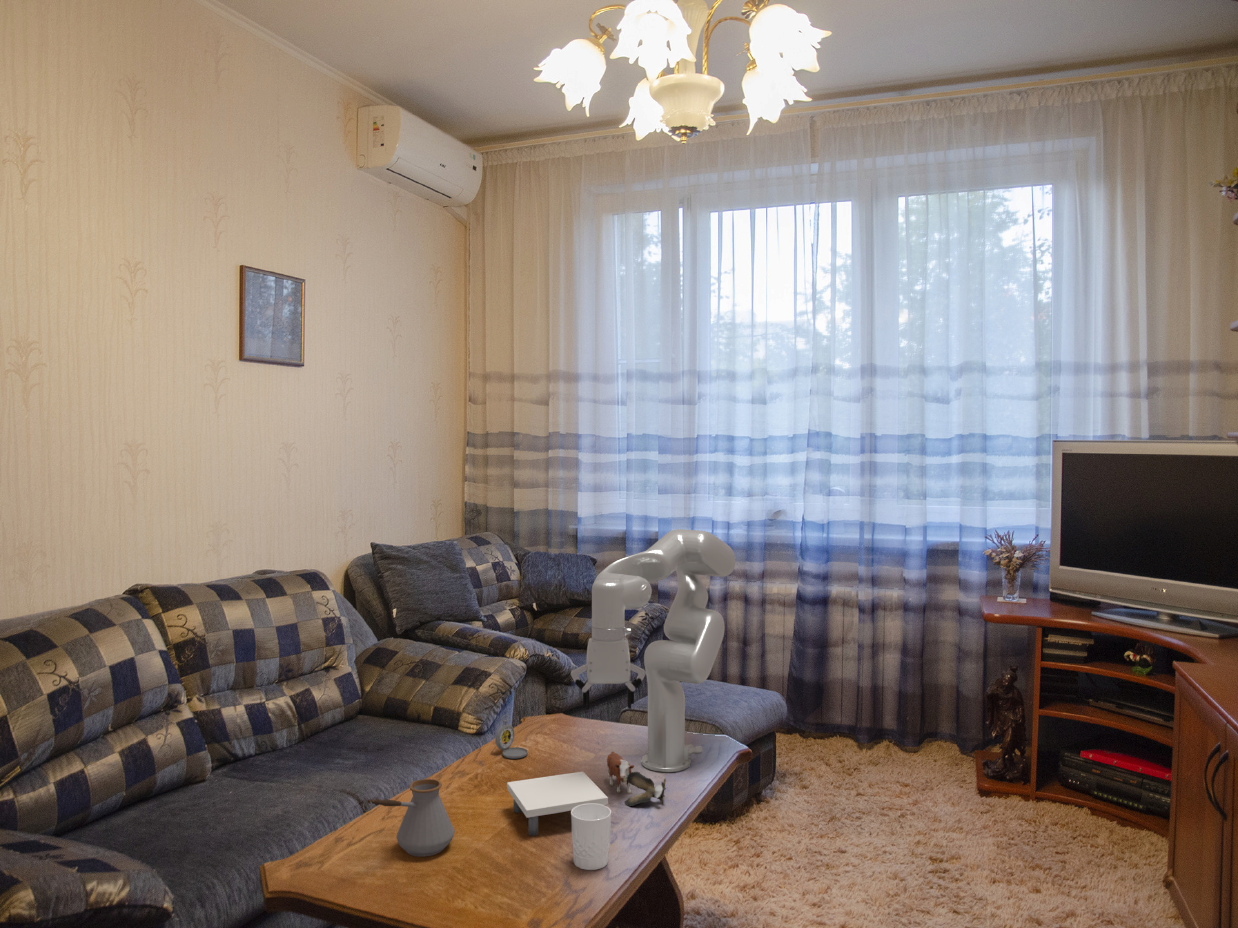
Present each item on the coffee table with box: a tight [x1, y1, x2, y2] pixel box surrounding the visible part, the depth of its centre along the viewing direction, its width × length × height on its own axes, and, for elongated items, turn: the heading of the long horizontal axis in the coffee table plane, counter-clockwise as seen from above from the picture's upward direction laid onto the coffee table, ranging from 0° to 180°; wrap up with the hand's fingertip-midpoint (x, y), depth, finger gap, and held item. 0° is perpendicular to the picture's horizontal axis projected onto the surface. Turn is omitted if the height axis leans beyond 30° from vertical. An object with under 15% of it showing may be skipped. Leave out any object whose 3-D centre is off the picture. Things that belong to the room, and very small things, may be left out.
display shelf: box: [506, 771, 609, 837], centre depth 188 cm, size 18×16×6 cm
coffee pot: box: [362, 778, 455, 857], centre depth 169 cm, size 21×12×15 cm, turn 148°
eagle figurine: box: [624, 771, 667, 807], centre depth 196 cm, size 8×7×9 cm
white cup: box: [570, 803, 612, 871], centre depth 167 cm, size 8×8×10 cm
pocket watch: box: [495, 714, 529, 760], centre depth 226 cm, size 8×8×10 cm
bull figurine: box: [606, 751, 635, 795], centre depth 203 cm, size 4×13×8 cm, turn 15°
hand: (608, 707), depth 198 cm, fingers open, 9 cm apart
